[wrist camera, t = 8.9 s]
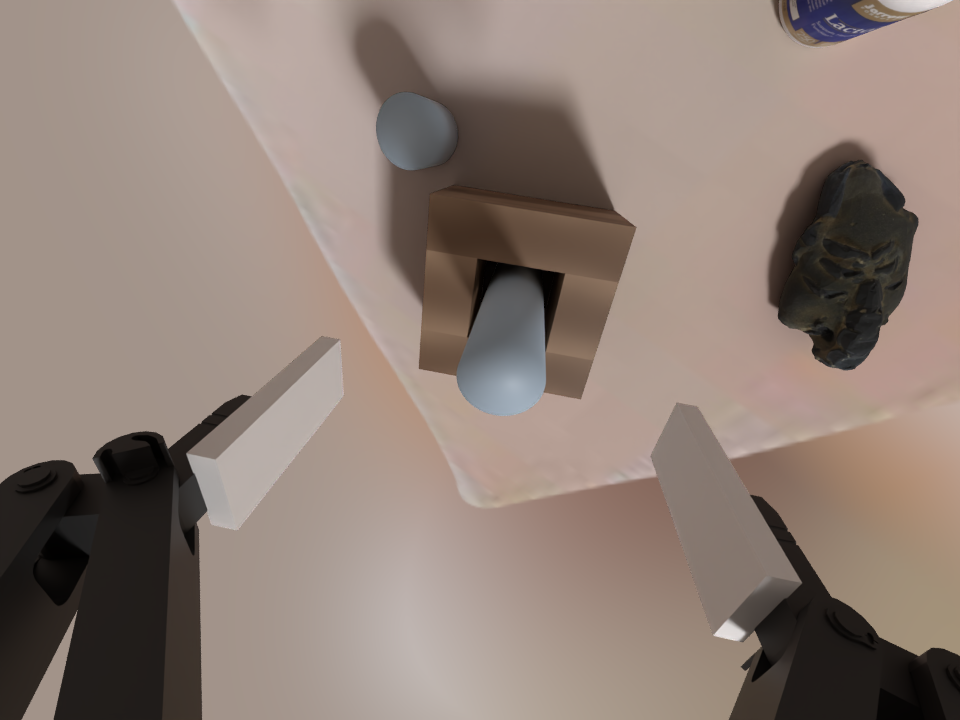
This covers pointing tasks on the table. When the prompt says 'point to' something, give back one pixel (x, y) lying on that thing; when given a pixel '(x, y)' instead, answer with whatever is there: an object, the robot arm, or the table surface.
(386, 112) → the grey rounded cylinder
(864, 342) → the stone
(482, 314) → the long dowel
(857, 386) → the table surface
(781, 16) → the pill bottle
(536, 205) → the sleeve block
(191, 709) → the robot arm
